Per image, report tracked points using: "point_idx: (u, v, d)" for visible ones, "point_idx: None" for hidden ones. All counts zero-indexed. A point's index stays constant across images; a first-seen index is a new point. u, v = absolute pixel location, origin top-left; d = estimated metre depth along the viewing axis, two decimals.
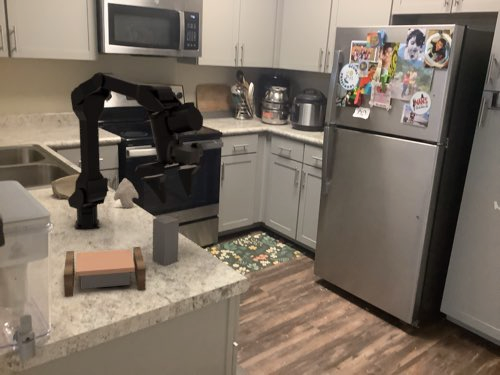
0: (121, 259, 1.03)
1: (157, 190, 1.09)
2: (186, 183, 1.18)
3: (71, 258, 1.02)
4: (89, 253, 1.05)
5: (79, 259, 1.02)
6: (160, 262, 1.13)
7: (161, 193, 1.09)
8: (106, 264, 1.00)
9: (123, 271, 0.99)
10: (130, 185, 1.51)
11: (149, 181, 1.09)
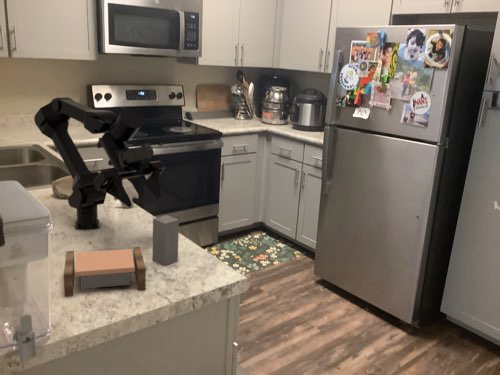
0: (121, 259, 1.03)
1: (119, 195, 1.13)
2: (153, 189, 1.21)
3: (71, 258, 1.02)
4: (89, 253, 1.05)
5: (79, 259, 1.02)
6: (160, 262, 1.13)
7: (123, 196, 1.13)
8: (106, 264, 1.00)
9: (123, 271, 0.99)
10: (130, 185, 1.51)
11: (110, 191, 1.14)
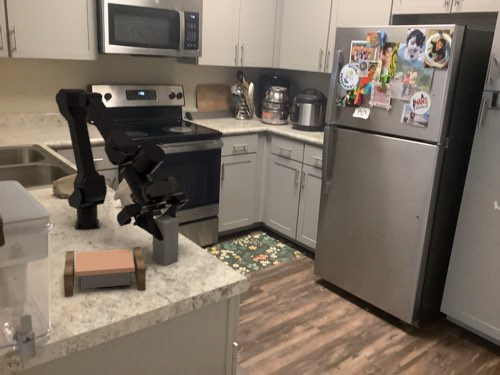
0: (121, 259, 1.03)
1: (150, 229, 1.11)
2: None
3: (71, 258, 1.02)
4: (89, 253, 1.05)
5: (79, 259, 1.02)
6: (160, 262, 1.13)
7: (154, 230, 1.11)
8: (106, 264, 1.00)
9: (123, 271, 0.99)
10: None
11: (141, 224, 1.12)
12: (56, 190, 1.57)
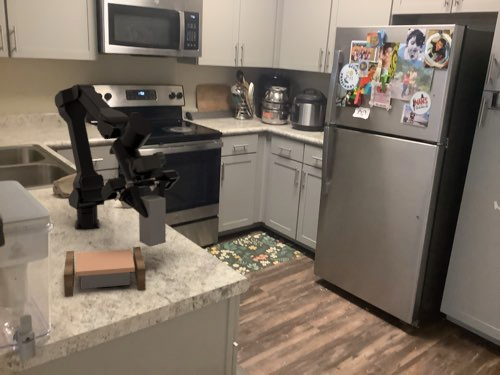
0: (121, 259, 1.03)
1: (136, 205, 1.07)
2: None
3: (71, 258, 1.02)
4: (89, 253, 1.05)
5: (79, 259, 1.02)
6: (146, 243, 1.09)
7: (139, 206, 1.06)
8: (106, 264, 1.00)
9: (123, 271, 0.99)
10: None
11: (127, 200, 1.08)
12: (57, 190, 1.58)
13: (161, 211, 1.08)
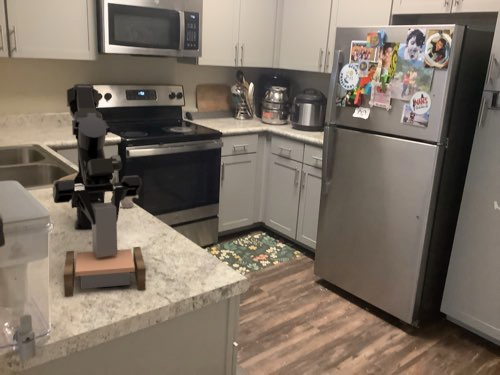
0: (121, 259, 1.03)
1: (85, 210, 1.01)
2: None
3: (71, 258, 1.02)
4: (89, 253, 1.05)
5: (79, 259, 1.02)
6: (95, 253, 1.02)
7: (87, 212, 1.00)
8: (106, 264, 1.00)
9: (123, 271, 0.99)
10: None
11: (79, 204, 1.03)
12: None
13: (111, 220, 1.01)
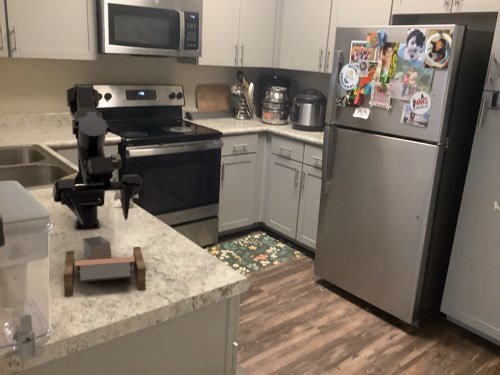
0: None
1: (75, 210, 1.00)
2: (123, 206, 1.05)
3: (71, 258, 1.02)
4: None
5: None
6: (90, 252, 1.06)
7: (77, 212, 0.99)
8: None
9: (123, 261, 0.99)
10: None
11: (69, 204, 1.02)
12: None
13: (98, 238, 1.14)
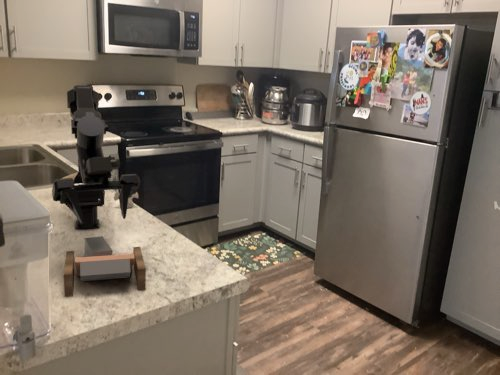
0: None
1: (73, 209, 1.01)
2: (121, 205, 1.06)
3: (71, 258, 1.02)
4: None
5: None
6: None
7: (76, 211, 1.00)
8: None
9: (123, 257, 0.99)
10: None
11: (68, 203, 1.03)
12: None
13: (100, 240, 1.14)
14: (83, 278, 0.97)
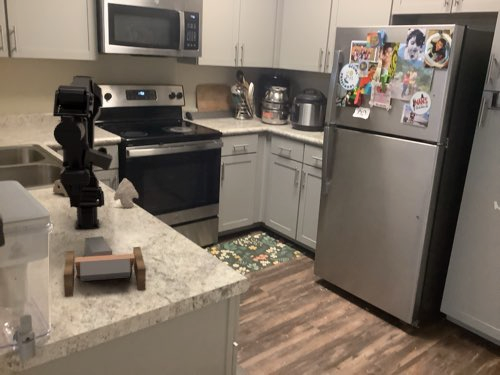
0: None
1: (74, 194, 1.08)
2: None
3: (71, 258, 1.02)
4: None
5: None
6: None
7: (78, 197, 1.09)
8: None
9: (123, 257, 0.99)
10: (130, 185, 1.51)
11: (67, 185, 1.07)
12: (60, 189, 1.59)
13: (100, 240, 1.14)
14: (83, 278, 0.97)
